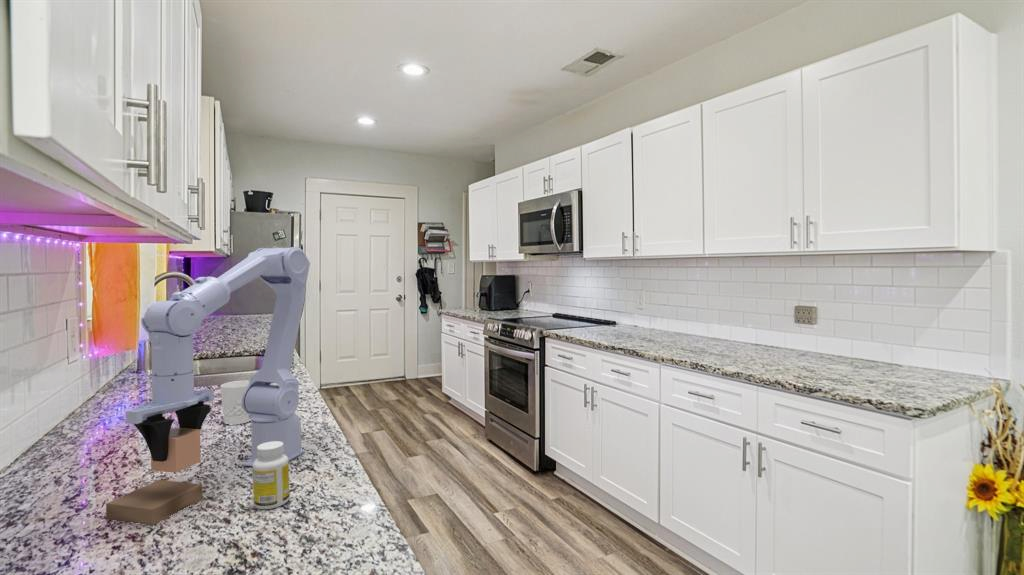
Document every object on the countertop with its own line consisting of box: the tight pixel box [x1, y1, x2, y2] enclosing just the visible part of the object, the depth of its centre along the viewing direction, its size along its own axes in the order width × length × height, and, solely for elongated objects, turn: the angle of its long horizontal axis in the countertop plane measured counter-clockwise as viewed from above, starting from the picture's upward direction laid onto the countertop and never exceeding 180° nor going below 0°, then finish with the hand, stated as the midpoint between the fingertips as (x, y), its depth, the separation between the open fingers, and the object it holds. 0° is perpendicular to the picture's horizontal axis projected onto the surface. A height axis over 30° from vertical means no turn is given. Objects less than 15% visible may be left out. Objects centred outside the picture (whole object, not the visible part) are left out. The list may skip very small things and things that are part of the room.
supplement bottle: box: [252, 441, 290, 510], centre depth 82 cm, size 5×5×10 cm
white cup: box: [220, 379, 251, 425], centre depth 127 cm, size 8×8×10 cm
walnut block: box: [105, 479, 203, 527], centre depth 80 cm, size 9×9×3 cm
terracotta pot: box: [150, 427, 202, 474], centre depth 81 cm, size 5×5×6 cm
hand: (174, 454), depth 81 cm, fingers closed on terracotta pot, 5 cm apart
